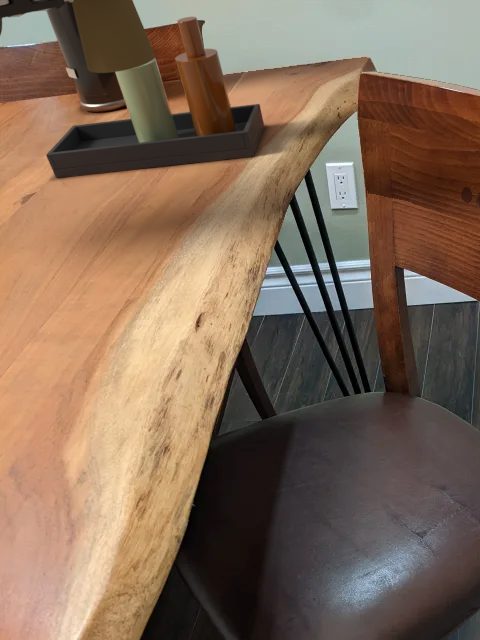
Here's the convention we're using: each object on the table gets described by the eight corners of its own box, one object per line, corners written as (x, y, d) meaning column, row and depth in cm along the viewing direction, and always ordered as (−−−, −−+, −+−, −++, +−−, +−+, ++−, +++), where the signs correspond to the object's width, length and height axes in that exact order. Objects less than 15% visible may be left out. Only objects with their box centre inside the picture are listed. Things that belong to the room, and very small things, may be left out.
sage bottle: (148, 138, 90) (111, 23, 81) (184, 135, 89) (151, 19, 80) (135, 152, 86) (94, 35, 77) (172, 149, 86) (136, 31, 77)
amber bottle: (204, 131, 89) (172, 15, 80) (241, 128, 88) (213, 11, 79) (193, 146, 86) (158, 27, 77) (231, 143, 85) (201, 22, 76)
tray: (55, 178, 86) (45, 154, 84) (82, 147, 93) (73, 125, 91) (253, 156, 84) (247, 131, 82) (264, 127, 91) (259, 103, 89)
